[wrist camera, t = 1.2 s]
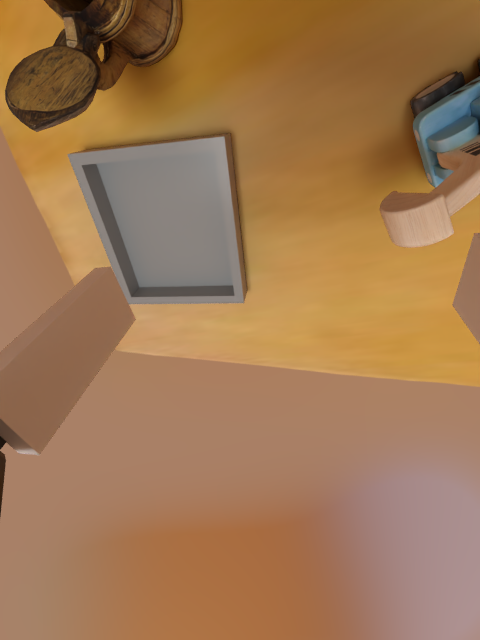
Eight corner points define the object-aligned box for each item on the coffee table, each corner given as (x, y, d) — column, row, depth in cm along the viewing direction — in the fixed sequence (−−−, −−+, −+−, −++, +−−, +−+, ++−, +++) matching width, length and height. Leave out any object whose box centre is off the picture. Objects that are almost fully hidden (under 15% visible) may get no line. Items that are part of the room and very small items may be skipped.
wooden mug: (106, 112, 33) (-36, 123, 19) (78, -83, 25) (-208, -321, 11) (183, 122, 33) (97, 142, 18) (181, -73, 25) (23, -309, 10)
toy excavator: (339, 142, 32) (371, 174, 18) (534, 17, 25) (829, -84, 11) (367, 212, 35) (411, 283, 22) (544, 121, 28) (773, 143, 15)
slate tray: (85, 149, 36) (67, 154, 33) (230, 133, 33) (224, 136, 30) (136, 292, 48) (126, 304, 45) (247, 290, 44) (244, 303, 42)
